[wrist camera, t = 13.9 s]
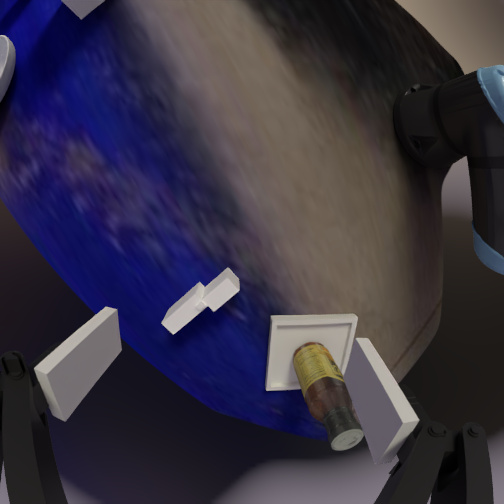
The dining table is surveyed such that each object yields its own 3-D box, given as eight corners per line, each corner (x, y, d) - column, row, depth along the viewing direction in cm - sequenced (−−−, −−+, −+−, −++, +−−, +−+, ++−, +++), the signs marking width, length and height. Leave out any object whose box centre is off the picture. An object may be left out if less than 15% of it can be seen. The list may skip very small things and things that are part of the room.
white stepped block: (165, 328, 42) (156, 347, 36) (154, 260, 39) (142, 271, 34) (258, 325, 43) (261, 343, 37) (255, 255, 40) (258, 265, 35)
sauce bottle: (328, 363, 44) (371, 447, 25) (293, 373, 44) (323, 463, 25) (325, 333, 42) (375, 417, 23) (288, 343, 42) (320, 436, 23)
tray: (353, 313, 43) (357, 317, 41) (338, 379, 46) (341, 384, 44) (270, 315, 42) (272, 320, 40) (265, 384, 45) (266, 390, 43)
